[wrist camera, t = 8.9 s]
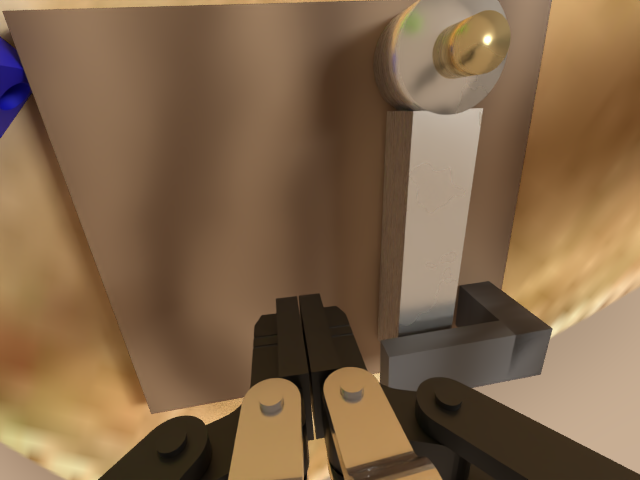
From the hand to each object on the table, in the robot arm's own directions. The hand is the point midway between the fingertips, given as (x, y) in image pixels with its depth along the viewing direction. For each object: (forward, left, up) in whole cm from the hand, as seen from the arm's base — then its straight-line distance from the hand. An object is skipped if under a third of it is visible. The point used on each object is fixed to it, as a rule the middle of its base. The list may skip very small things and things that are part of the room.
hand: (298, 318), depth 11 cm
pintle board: (-2, 0, -8) cm, 9 cm away
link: (-7, -2, -7) cm, 10 cm away
